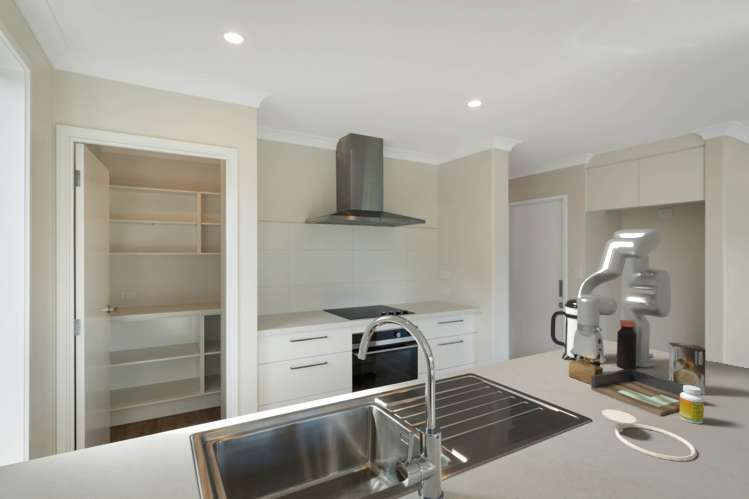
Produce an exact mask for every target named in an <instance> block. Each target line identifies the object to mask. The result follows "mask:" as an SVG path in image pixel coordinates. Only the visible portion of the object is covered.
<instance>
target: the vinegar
mask: <svg viewBox="0 0 749 499" xmlns="http://www.w3.org/2000/svg"><path fill="white" fill-rule="evenodd" d="M619 321H620V322H619V326H620V329H618V330H617V333H616V334H617V335H616V337H617V338H616V367H618V368H619V369H621V370H624V369H629V368H630V369H634V370H637V369H636V368H637V367H636V339H637V334H636V332H635V331H634V330H633V328H634V321H630V320H624V319H620V320H619Z"/></svg>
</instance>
